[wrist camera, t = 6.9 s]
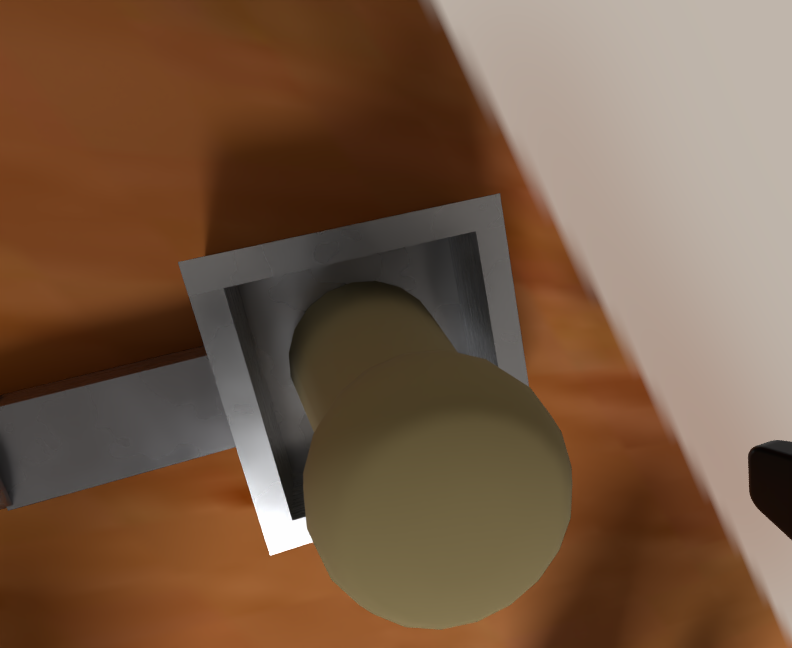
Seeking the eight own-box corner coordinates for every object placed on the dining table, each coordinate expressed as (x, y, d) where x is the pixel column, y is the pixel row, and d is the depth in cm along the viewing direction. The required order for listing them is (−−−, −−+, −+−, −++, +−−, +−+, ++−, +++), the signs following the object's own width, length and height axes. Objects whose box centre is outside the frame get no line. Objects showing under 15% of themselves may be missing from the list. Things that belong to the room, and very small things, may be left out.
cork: (256, 333, 17) (190, 502, 7) (397, 250, 18) (548, 282, 7) (340, 458, 19) (397, 755, 8) (467, 379, 19) (675, 562, 9)
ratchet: (488, 418, 22) (541, 468, 17) (55, 546, 19) (-26, 649, 14) (451, 203, 20) (499, 193, 15) (-48, 310, 17) (-185, 339, 12)
